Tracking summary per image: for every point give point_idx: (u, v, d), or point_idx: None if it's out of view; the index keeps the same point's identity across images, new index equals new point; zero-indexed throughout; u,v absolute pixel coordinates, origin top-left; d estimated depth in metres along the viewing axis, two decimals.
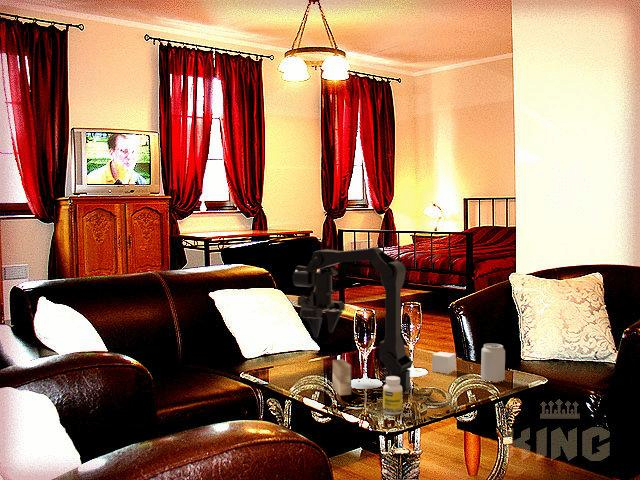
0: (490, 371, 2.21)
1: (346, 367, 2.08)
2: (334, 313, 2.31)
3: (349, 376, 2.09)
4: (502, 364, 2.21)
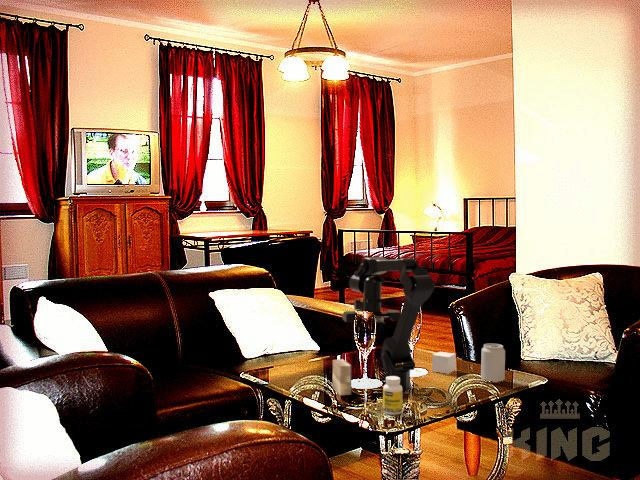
0: (490, 371, 2.21)
1: (346, 367, 2.08)
2: None
3: (349, 376, 2.09)
4: (502, 364, 2.21)
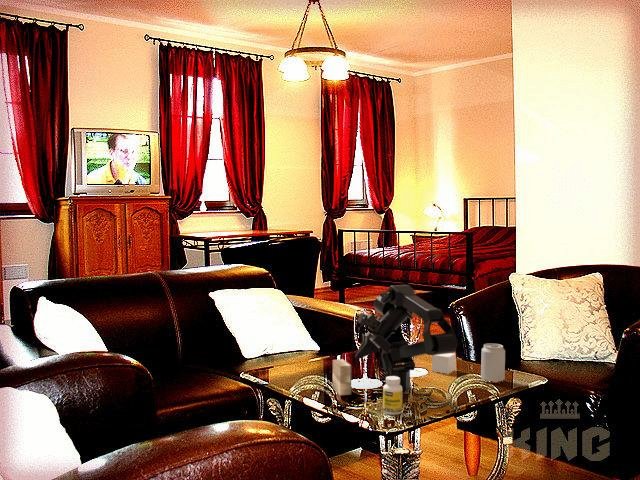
0: (490, 371, 2.21)
1: (346, 367, 2.08)
2: None
3: (349, 376, 2.09)
4: (502, 364, 2.21)
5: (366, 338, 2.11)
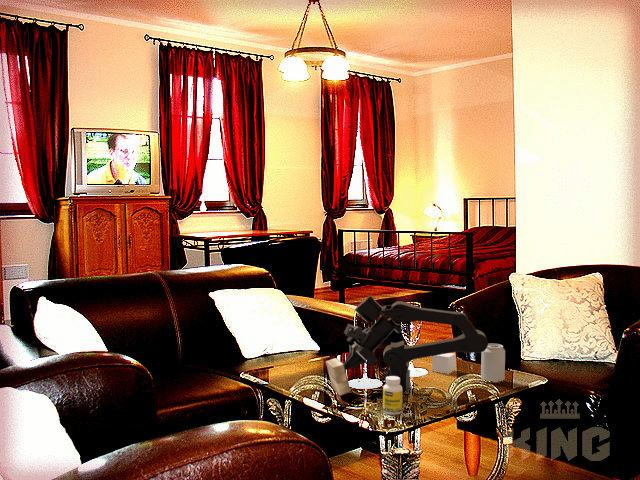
0: (490, 371, 2.21)
1: (339, 367, 2.08)
2: None
3: (344, 375, 2.08)
4: (502, 364, 2.21)
5: (352, 350, 2.11)
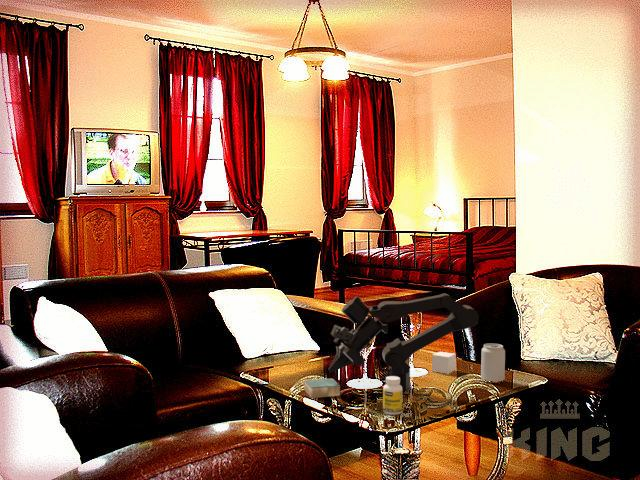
0: (490, 371, 2.21)
1: (312, 392, 2.06)
2: None
3: (322, 388, 2.07)
4: (502, 364, 2.21)
5: (339, 351, 2.10)
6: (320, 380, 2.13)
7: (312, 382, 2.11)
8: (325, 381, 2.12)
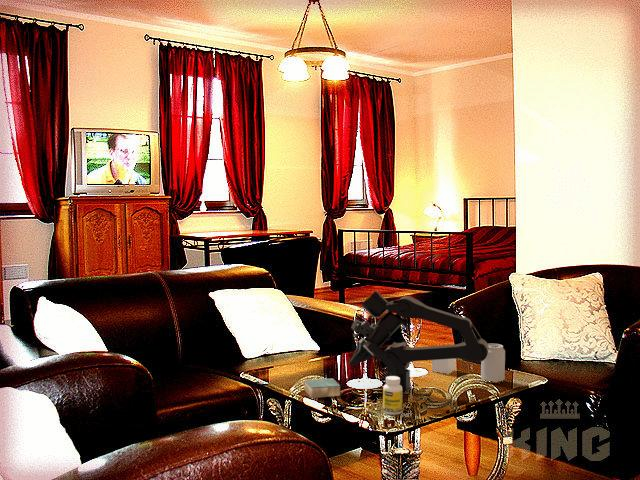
0: (490, 371, 2.21)
1: (312, 392, 2.06)
2: None
3: (322, 388, 2.07)
4: (502, 364, 2.21)
5: (360, 345, 2.10)
6: (320, 380, 2.13)
7: (312, 382, 2.11)
8: (326, 381, 2.12)
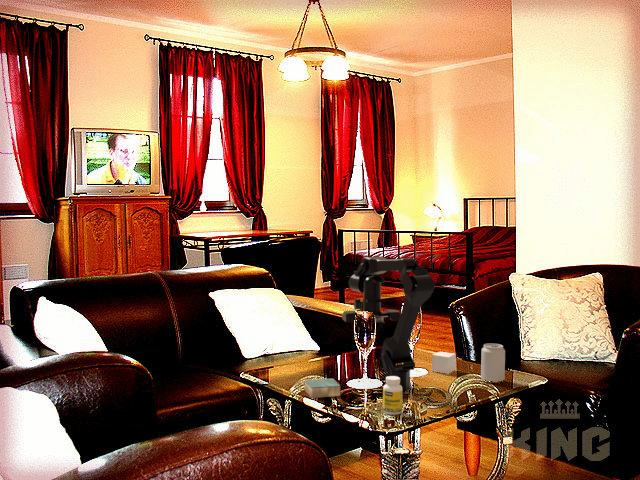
0: (490, 371, 2.21)
1: (313, 392, 2.06)
2: None
3: (322, 388, 2.07)
4: (502, 364, 2.21)
5: None
6: (320, 380, 2.13)
7: (312, 382, 2.11)
8: (326, 381, 2.12)
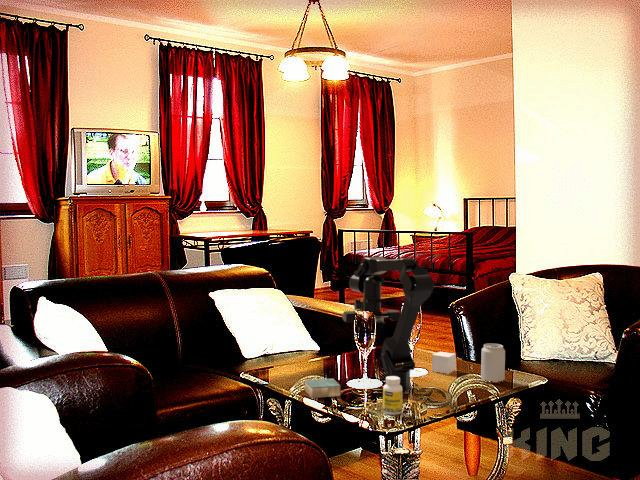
0: (490, 371, 2.21)
1: (313, 392, 2.06)
2: None
3: (322, 388, 2.07)
4: (502, 364, 2.21)
5: None
6: (320, 380, 2.13)
7: (312, 382, 2.11)
8: (326, 381, 2.12)
